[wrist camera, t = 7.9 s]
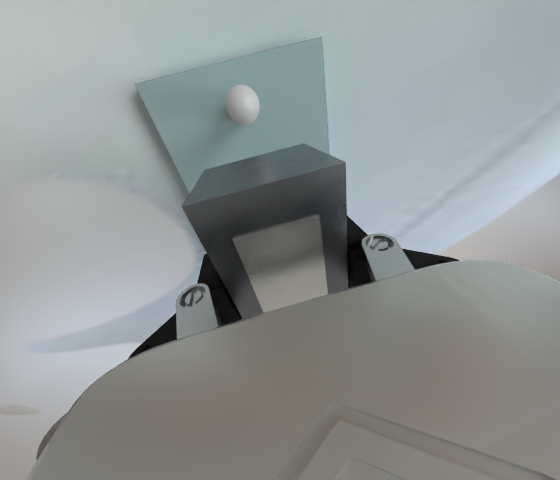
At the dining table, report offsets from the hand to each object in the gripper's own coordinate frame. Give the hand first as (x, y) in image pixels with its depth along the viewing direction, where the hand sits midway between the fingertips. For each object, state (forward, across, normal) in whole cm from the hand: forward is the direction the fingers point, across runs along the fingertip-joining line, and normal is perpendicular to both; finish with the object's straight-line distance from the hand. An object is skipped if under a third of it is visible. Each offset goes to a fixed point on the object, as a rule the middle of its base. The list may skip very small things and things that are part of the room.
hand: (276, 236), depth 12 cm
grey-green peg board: (+8, 0, 0) cm, 8 cm away
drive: (+1, 0, 0) cm, 1 cm away
